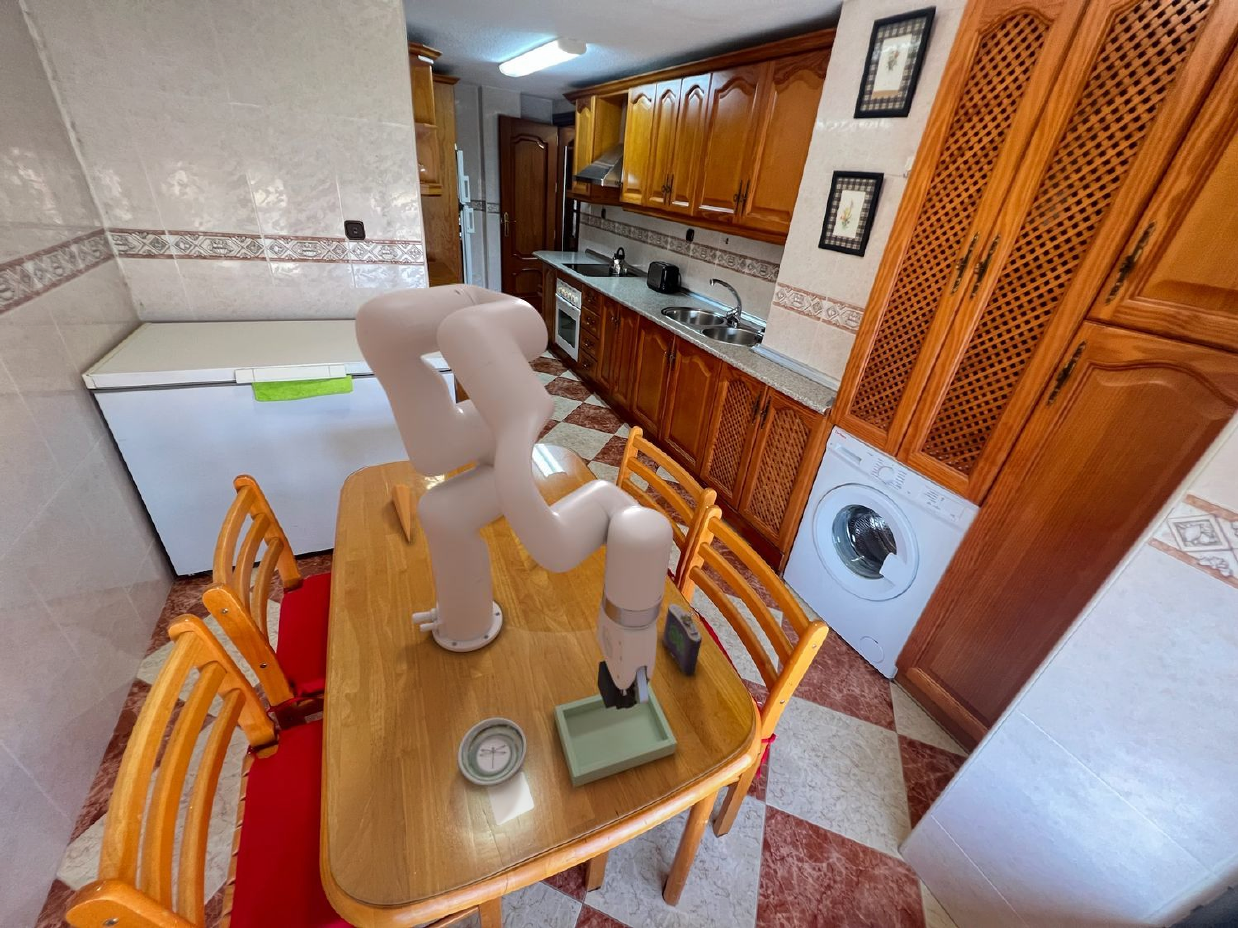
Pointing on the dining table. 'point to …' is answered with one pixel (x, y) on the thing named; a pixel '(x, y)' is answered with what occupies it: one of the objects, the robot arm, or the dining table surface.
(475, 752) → the saucer
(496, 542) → the dining table surface
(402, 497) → the carrot
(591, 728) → the green rectangular tray
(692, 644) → the flask
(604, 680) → the black rectangular block
